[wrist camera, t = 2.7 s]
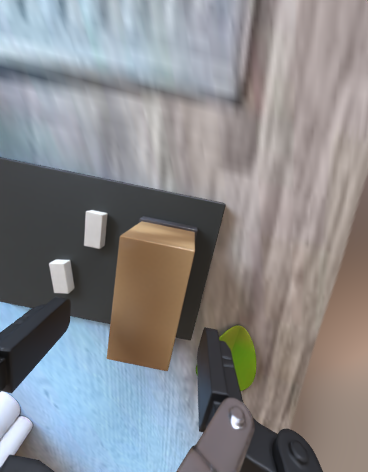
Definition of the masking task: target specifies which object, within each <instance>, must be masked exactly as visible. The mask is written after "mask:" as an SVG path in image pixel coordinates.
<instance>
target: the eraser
mask: <svg viewBox="0 0 368 472" xmlns="http://www.w3.org/2000/svg"><path fill="white" fill-rule="evenodd" d="M196 235H197V227H194V226H189V225H184V224H179V223H174V222H170V221H165V220H160V219H155V218H150V217H145V216H143V217H141V218H140V220H139V223H138V224H137V225H135V226H134V227H133V228H131V229H130V230H128V231H127V232H125V233H124V234H122V235H121V236H120V240H119V249H118V259H117V268H116V277H115V286H114V296H113V305H112V314H111V324H110V333H109V342H108V351H107V359H110V360H115V361H120V362H125V363H130V364H134V365H139V366H144V367H149V368H154V369H159V370H164V371H168V368H169V364H170V359H171V355H172V350H173V346H174V342H175V337H176V333H177V328H178V324H179V320H180V315H181V311H182V306H183V302H184V298H185V293H186V289H187V284H188V280H189V276H190V271H191V267H192V262H193V258H194V254H195V240H196Z"/></svg>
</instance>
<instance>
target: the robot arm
mask: <svg viewBox="0 0 368 472" xmlns="http://www.w3.org/2000/svg"><path fill="white" fill-rule="evenodd" d="M70 310H71V301H70V299H65V298H60V297H54V298H53V299H52V300H50V301H49V302H48V303H47V304H41V305H39V306H37V307H35V308H32V309H31V310H29V311H28V312H27V313H25V314H24V315H23V316H22V317H20V318H19V319H17V320H16V321H15V322H14V323H12V324H11V325H10V326H8V327H7V328H6V329H4V330H3V331H2V332H0V392H1V391H3V392H8V393H12V392H13V391H14V390H15V389H16V388H17V387H18V386H19V384H20V383H21V382H22V381H23V380H24V379H25V378H26V376H27V375H28V374H29V373H30V372H31V371H32V370H33V368H34V367H35V366H36V365H37V364H38V363H39V362H40V360H41V359H42V358H43V357H44V356H45V355H46V354H47V352H48V351H49V350H50V349H51V348H52V347H53V346H54V344H55V343H56V342H57V341H58V340H59V339H60V338H61V336H62V335H63V334H64V333H65V332H66V330H67V328H68V326H69V323H70ZM197 373H198V409H199V431H200V432H203V434H202V436H201V437H200V439H199V441H198V442H197V444H196V445H195V446H193V447H192V448H191V449H190V450H189V452H188V454H187V455H186V457H185V458H184V460H183V462H182V463H181V465H180V466H179V468H178V470H177V471H176V472H323V471H322V469H321V467H320V464H319V461H318V459H317V457H316V455H315V453H314V451H313V449H312V448H311V447H310V445H309V444H308V443H307V442H306V441H305V439H304V438H303V437H301V436H300V435H299V434H297V433H296V432H294V431H292V430H290V429H282V430H281V431H280V432H279V433H278V434H276V433H275V432H273V431H271V430H270V429H268V428H266V427H265V426H263V425H261V424H260V423H258V422H257V421H256V420H255V419H254V418H253V417H252V414H251V412H250V411H249V409H248V408H247V407H246V405H245V404H244V403H243V400H242V396H241V392H240V387H239V383H238V379H237V375H236V370H235V366H234V362H233V358H232V353H231V350H230V348H229V346H228V345H227V343H226V342H225V341H220V340H219V335H218V331H217V330H215V329H210V328H206V327H205V328H204V330H203V333H202V337H201V341H200V344H199V348H198V354H197ZM0 472H54V471H53V470H52V469H50V468H49V467H48V466H46V465H45V464H43V463H42V462H41V461H39V460H36V459H30V458H25V457H20V456H15V455H10V454H9V456H8V457H7V459H6V460H5V462H4V463H3V465H2V466H1V467H0Z"/></svg>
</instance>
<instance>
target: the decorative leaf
mask: <svg viewBox="0 0 368 472" xmlns="http://www.w3.org/2000/svg"><path fill="white" fill-rule="evenodd" d="M219 340H220V341H225V342H226V343H227V345H228V346H229V348H230V350H231V353H232V358H233V362H234V366H235V370H236V375H237V379H238V383H239V387H240V391H243V390H245V389H246V388H248V387H249V386H250V385H251V384H252V382H253V380H254V378H255V374H256V355H255V349H254V345H253V342H252V340H251V337H250V335H249V333H248V332H247V331H246V329H245V328H244V327H242V326H234V327H232V328H230V329H229V330H227V331H226V332H225V333H224V334H223V335H221V336H220V337H219ZM196 374H197V376H198V373H197V366H196Z"/></svg>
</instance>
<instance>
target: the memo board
mask: <svg viewBox="0 0 368 472" xmlns="http://www.w3.org/2000/svg"><path fill="white" fill-rule="evenodd" d="M225 206H226V204H224V203H221V202H216V201H212V200H207V199H202V198H197V197H192V196H187V195H182V194H177V193H173V192H168V191H163V190H158V189H153V188H148V187H143V186H138V185H134V184H129V183H124V182H119V181H114V180H109V179H104V178H99V177H95V176H90V175H85V174H80V173H75V172H70V171H65V170H60V169H55V168H51V167H46V166H41V165H36V164H31V163H26V162H21V161H16V160H12V159H7V158H2V157H0V302H5V303H10V304H15V305H20V306H24V307H29V308H35V307H37V306H39V305H41V304H47V303H48V302H49V301H50V300H52V299H53V298H54V297H60V298H65V299H70V301H71V310H70V316H73V317H78V318H83V319H88V320H93V321H98V322H103V323H108V324H111V314H112V305H113V296H114V286H115V277H116V268H117V259H118V249H119V240H120V236H121V235H122V234H124V233H125V232H127V231H128V230H130V229H131V228H133V227H134V226H135V225H137V224H138V223H139V220H140V218H141V217H143V216H145V217H150V218H155V219H160V220H165V221H170V222H174V223H179V224H184V225H189V226H194V227H197V235H196V240H195V254H194V258H193V262H192V267H191V271H190V276H189V280H188V284H187V289H186V293H185V298H184V302H183V306H182V311H181V315H180V320H179V324H178V328H177V333H176V338H181V339H186V340H191V338H192V334H193V330H194V326H195V323H196V319H197V315H198V311H199V307H200V303H201V299H202V295H203V291H204V287H205V284H206V280H207V276H208V272H209V268H210V264H211V260H212V256H213V252H214V248H215V245H216V241H217V237H218V233H219V229H220V225H221V221H222V217H223V213H224V209H225ZM90 210H94V211H99V212H104V213H107V225H106V237H105V246H103V247H102V248H100V249H98V248H93V247H88V246H84V237H85V218H86V211H90ZM56 259H57V260H70V261H71V268H72V275H73V281H74V289H73V290H72V291H71V292H70V293H68V294H66V293H54V289H53V283H52V278H51V272H50V267H49V263H50V262H52V261H54V260H56Z"/></svg>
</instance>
